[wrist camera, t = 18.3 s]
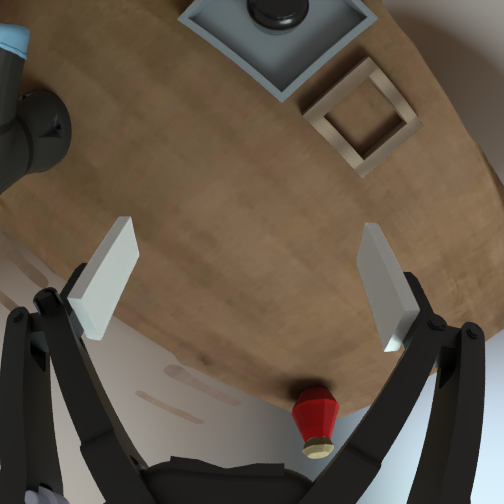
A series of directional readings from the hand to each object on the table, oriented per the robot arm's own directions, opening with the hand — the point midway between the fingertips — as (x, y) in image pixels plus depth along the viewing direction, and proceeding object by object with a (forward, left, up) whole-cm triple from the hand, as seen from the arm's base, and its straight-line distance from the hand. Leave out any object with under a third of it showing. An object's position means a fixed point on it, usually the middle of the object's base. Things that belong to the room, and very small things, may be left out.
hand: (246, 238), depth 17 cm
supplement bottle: (-10, +13, -30) cm, 34 cm away
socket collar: (+10, +11, -31) cm, 34 cm away
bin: (-9, +13, -31) cm, 35 cm away
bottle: (+62, -43, -31) cm, 81 cm away
